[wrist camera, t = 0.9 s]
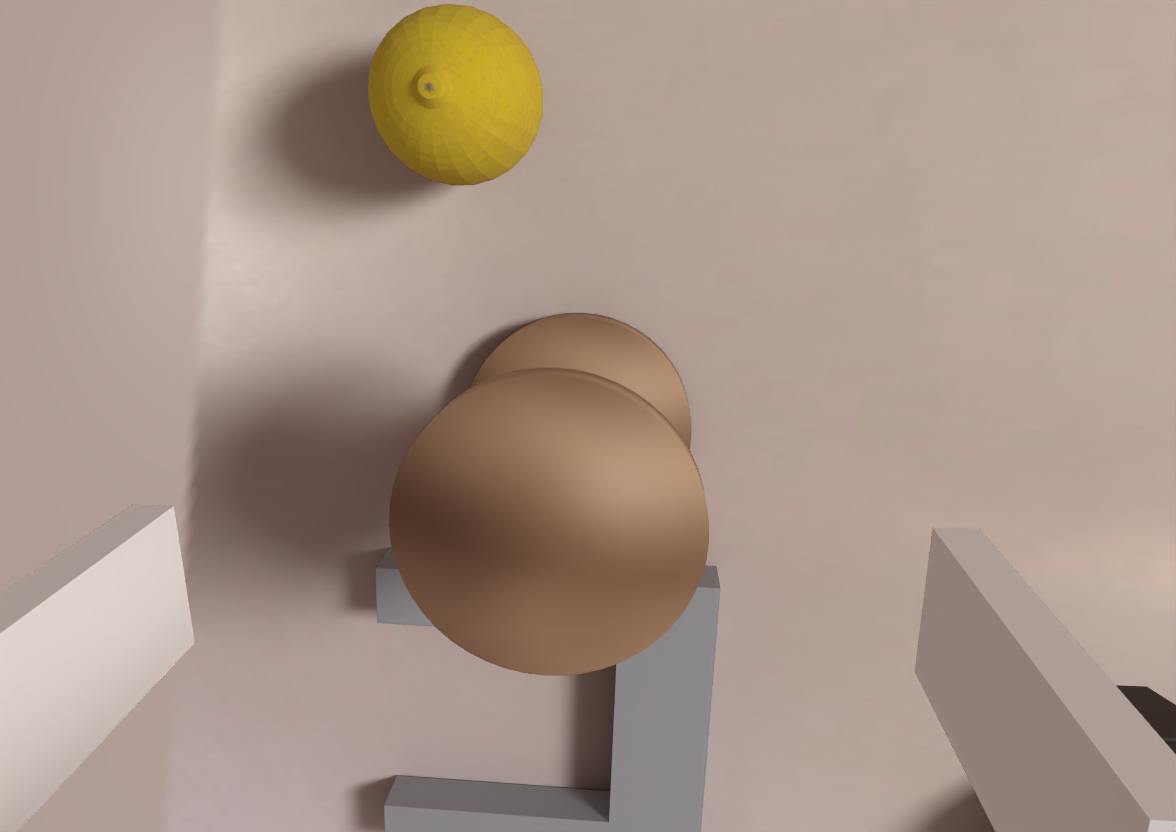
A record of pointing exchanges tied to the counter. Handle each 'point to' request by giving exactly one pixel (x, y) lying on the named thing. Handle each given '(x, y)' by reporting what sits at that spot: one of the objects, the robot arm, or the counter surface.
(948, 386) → the counter surface
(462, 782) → the notch board
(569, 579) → the bobbin
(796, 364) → the counter surface
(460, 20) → the lemon
